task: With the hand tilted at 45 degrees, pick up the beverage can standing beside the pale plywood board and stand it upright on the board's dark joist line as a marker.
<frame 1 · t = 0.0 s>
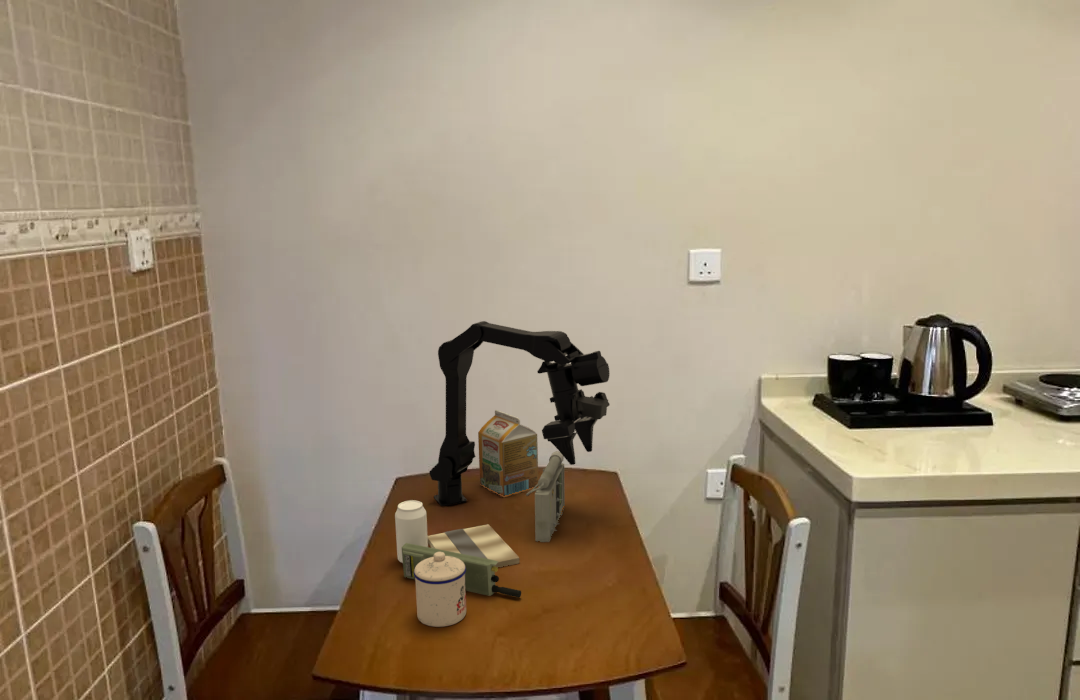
hand: (581, 457, 176), 15 cm above the table, tool pointing down, fingers open, 9 cm apart
milk carton: (509, 487, 202), on the table
handheld radio: (461, 588, 152), on the table
geiger counter: (550, 519, 182), on the table
teacup with lid: (441, 611, 143), on the table
subfloor board: (471, 551, 166), on the table
beverage can: (413, 561, 163), on the table
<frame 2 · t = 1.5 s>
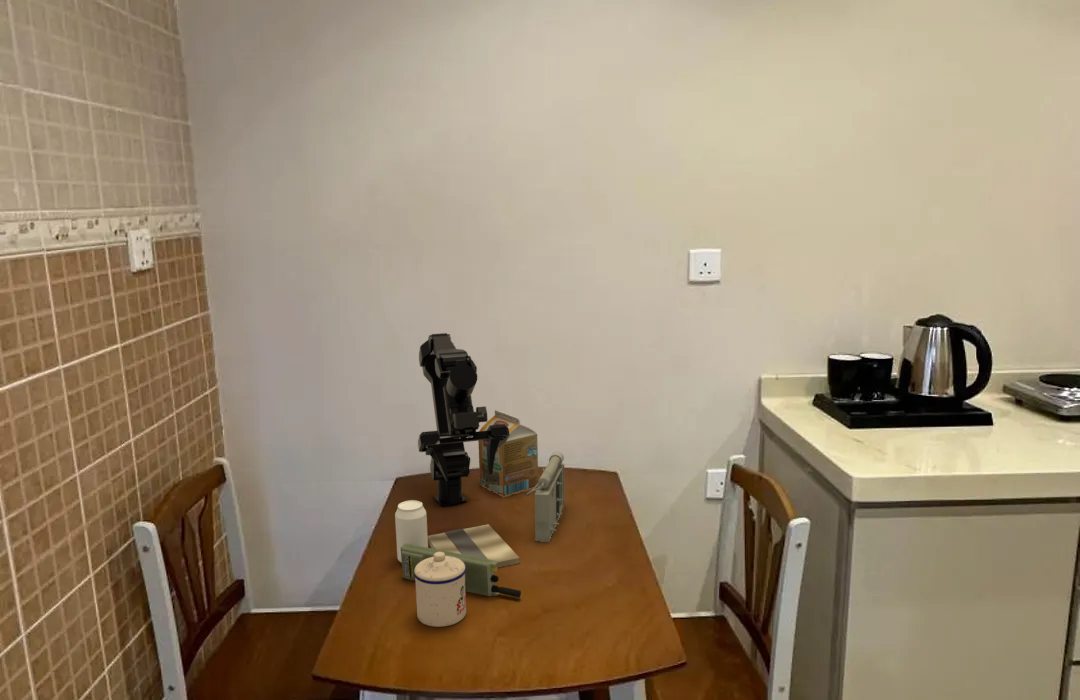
hand: (469, 477, 166), 15 cm above the table, tool tilted 35°, fingers open, 9 cm apart
nothing on the table moved.
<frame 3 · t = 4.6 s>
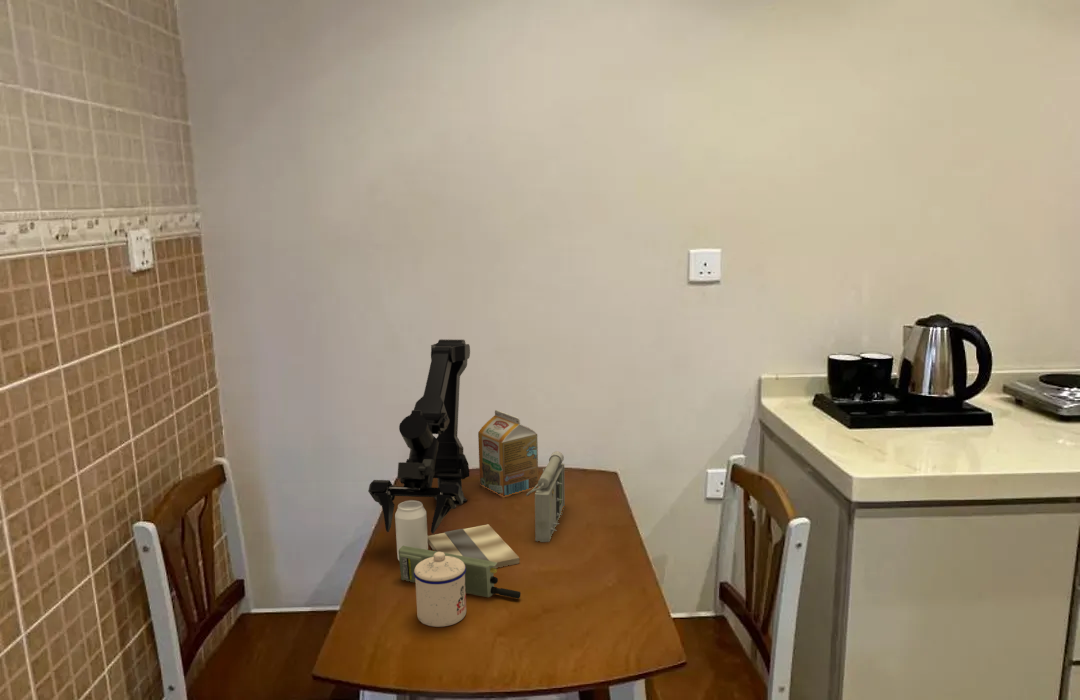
hand: (409, 532, 160), 7 cm above the table, tool tilted 45°, fingers open, 9 cm apart
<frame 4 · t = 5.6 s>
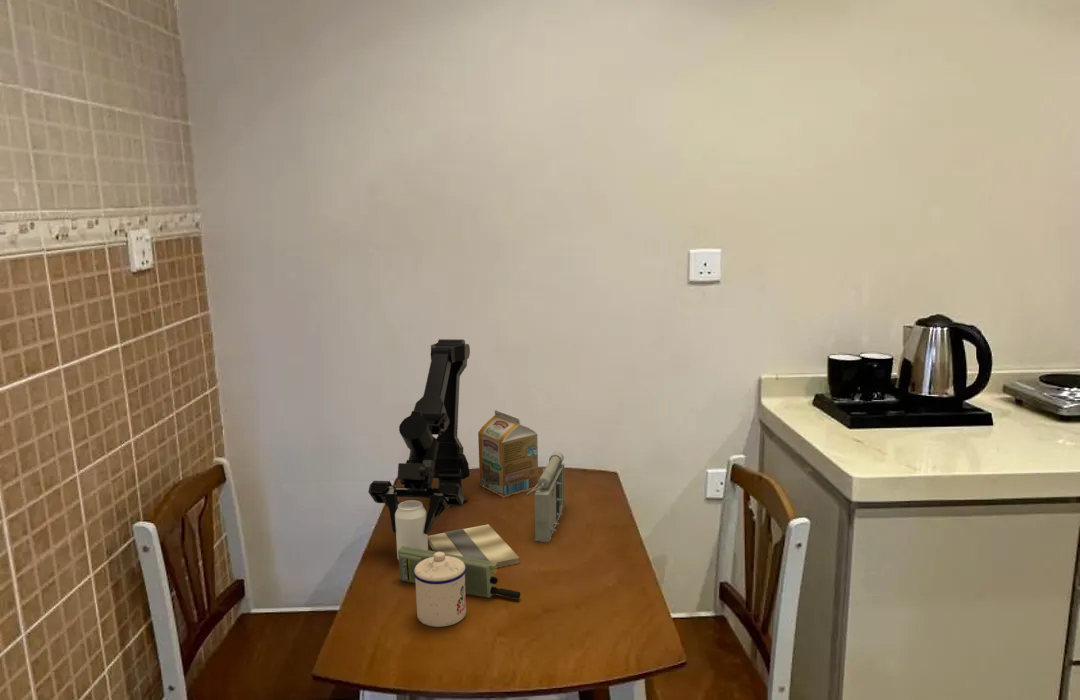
hand: (409, 533, 160), 7 cm above the table, tool tilted 45°, fingers closed on beverage can, 6 cm apart
beverage can: (413, 561, 163), on the table, touching gripper
everything else where it was.
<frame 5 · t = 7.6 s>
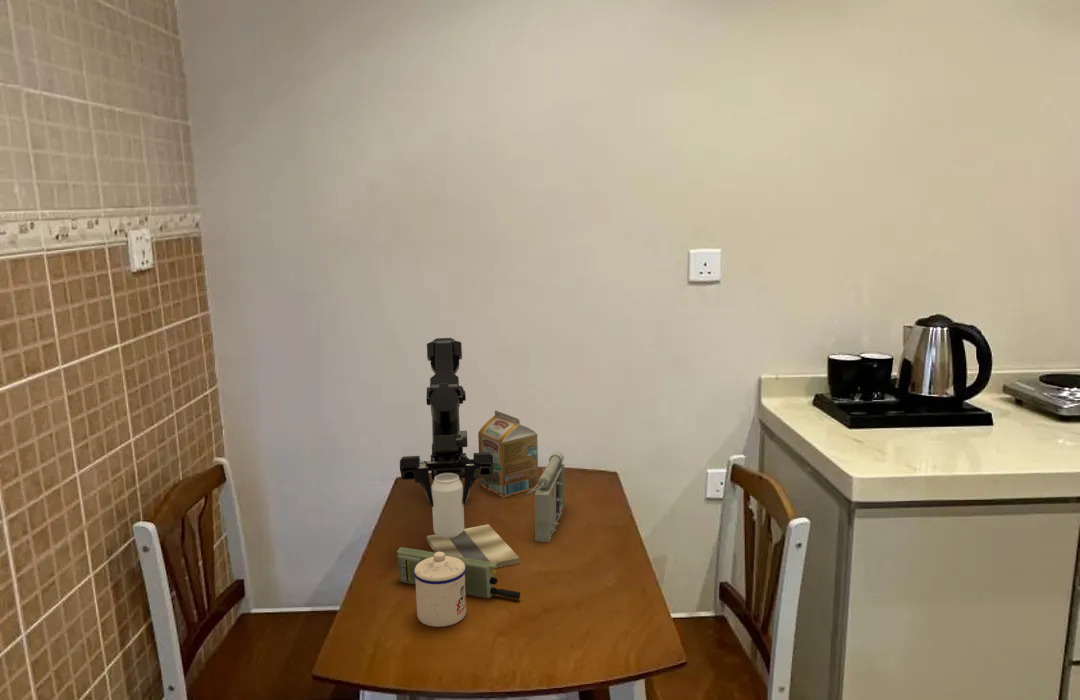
hand: (448, 505, 159), 12 cm above the table, tool tilted 45°, fingers closed on beverage can, 6 cm apart
beverage can: (449, 534, 162), point 5 cm above the table, touching gripper
when the fingers open (8 cm above the table, at t = 9.8 s): beverage can stays where it is, resting on subfloor board.
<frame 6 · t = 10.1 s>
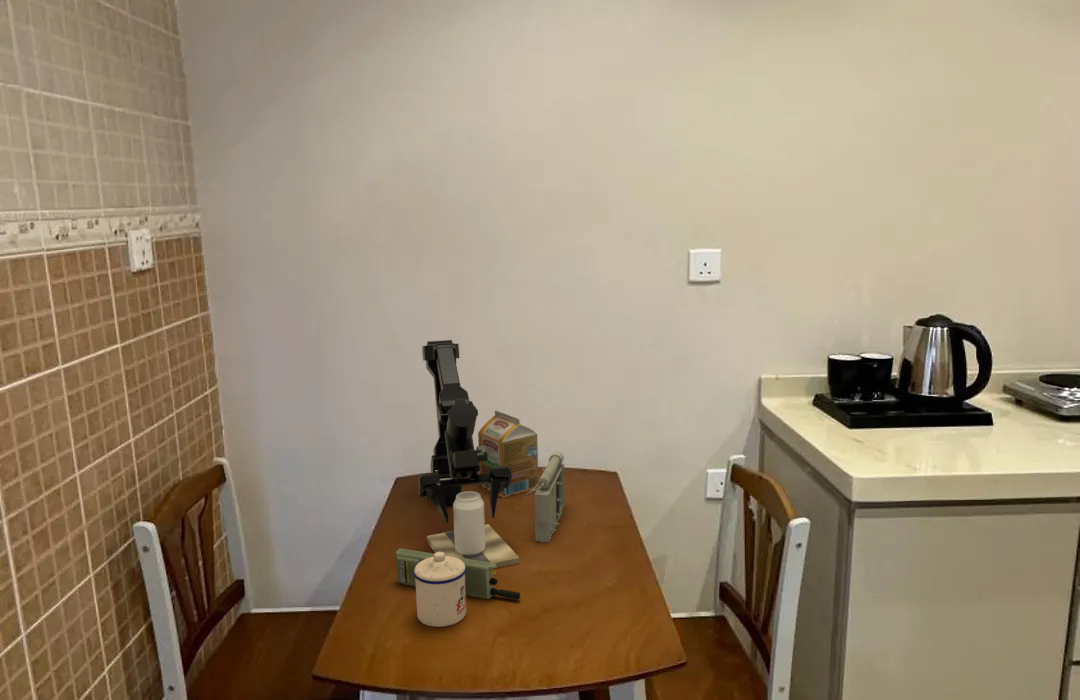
hand: (470, 520, 160), 9 cm above the table, tool tilted 45°, fingers open, 9 cm apart
beverage can: (470, 552, 164), point 1 cm above the table, touching subfloor board
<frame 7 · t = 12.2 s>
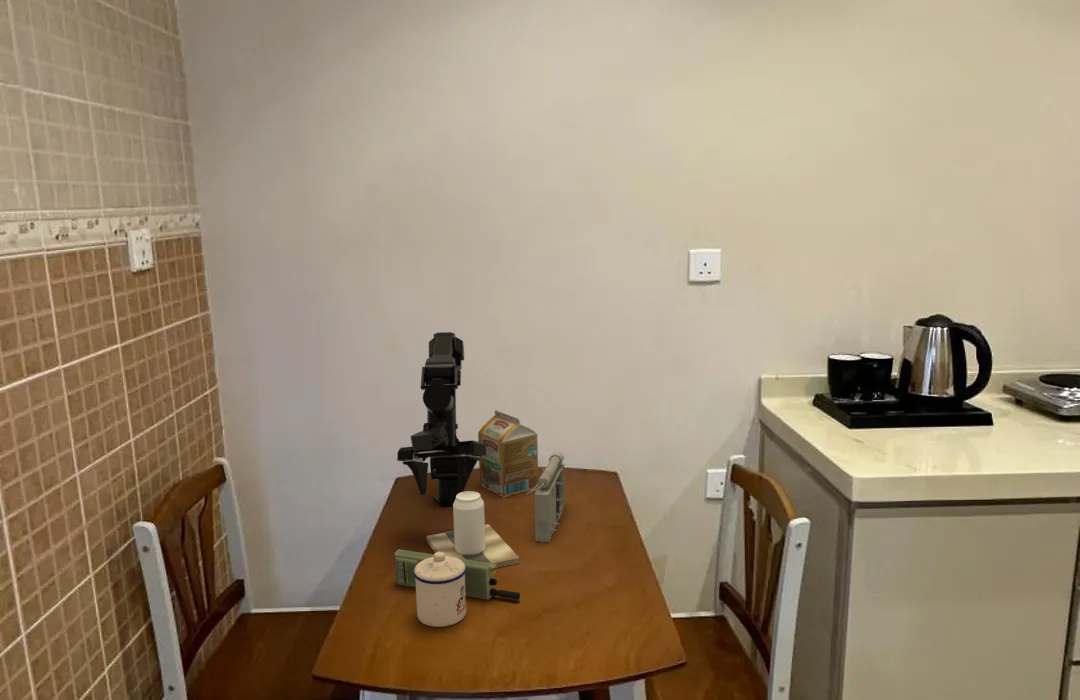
hand: (441, 493, 166), 12 cm above the table, tool tilted 25°, fingers open, 9 cm apart
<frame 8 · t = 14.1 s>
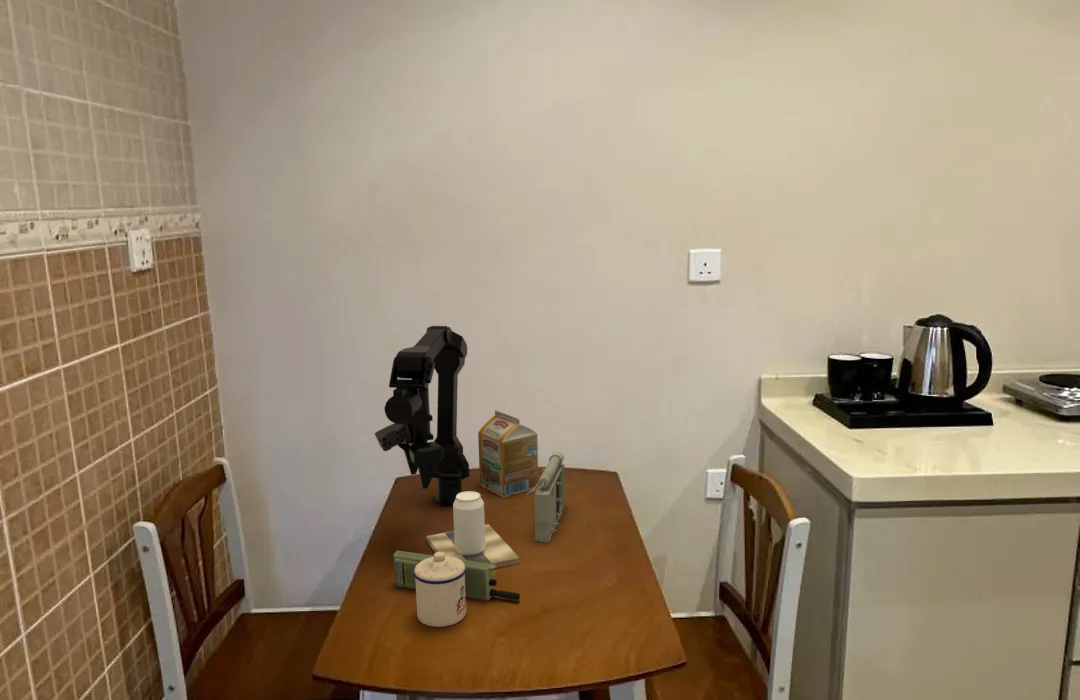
hand: (419, 481, 171), 13 cm above the table, tool pointing down, fingers open, 9 cm apart
at the end: beverage can inside the target area on the subfloor board (2.3 cm from its centre), point 1.2 cm above the subfloor board's base; beverage can tilted 0°; the gripper is holding nothing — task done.
